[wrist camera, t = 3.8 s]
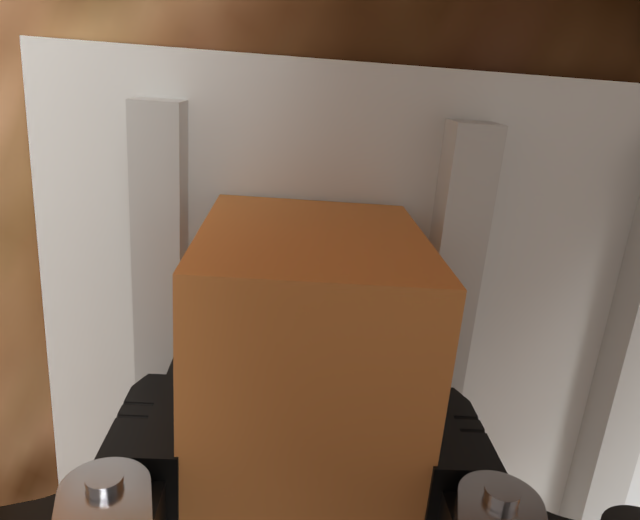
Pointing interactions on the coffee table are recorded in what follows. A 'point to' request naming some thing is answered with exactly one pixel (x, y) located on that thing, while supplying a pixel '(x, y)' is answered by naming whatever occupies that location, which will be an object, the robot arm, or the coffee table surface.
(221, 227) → the orange block
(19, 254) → the coffee table surface
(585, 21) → the coffee table surface
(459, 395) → the robot arm
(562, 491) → the white railed platform
